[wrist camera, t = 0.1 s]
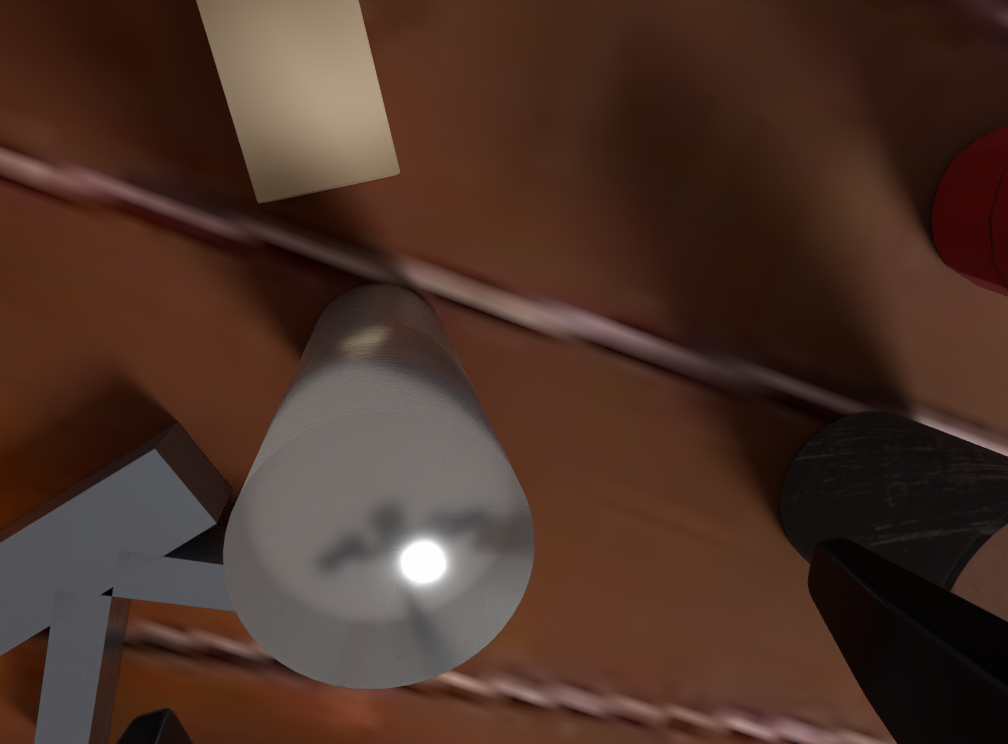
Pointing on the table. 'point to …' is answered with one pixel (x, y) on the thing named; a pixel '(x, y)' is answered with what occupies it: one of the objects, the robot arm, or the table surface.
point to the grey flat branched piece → (110, 572)
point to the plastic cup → (975, 212)
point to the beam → (300, 93)
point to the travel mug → (905, 502)
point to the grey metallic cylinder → (378, 506)
